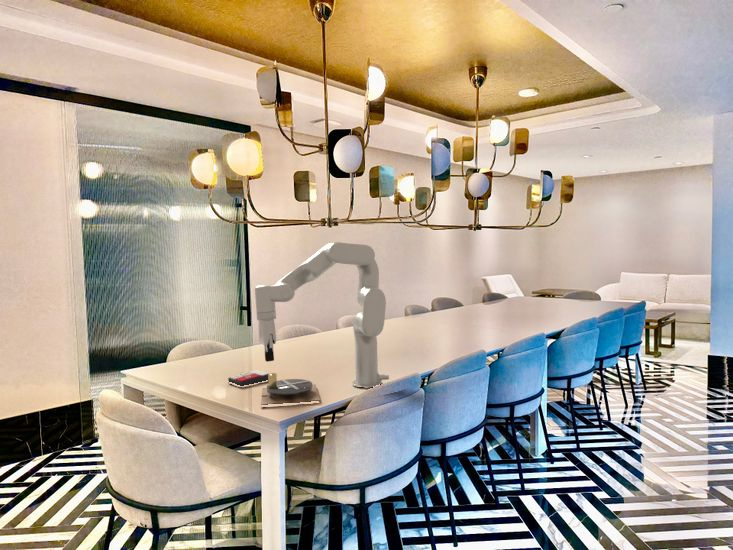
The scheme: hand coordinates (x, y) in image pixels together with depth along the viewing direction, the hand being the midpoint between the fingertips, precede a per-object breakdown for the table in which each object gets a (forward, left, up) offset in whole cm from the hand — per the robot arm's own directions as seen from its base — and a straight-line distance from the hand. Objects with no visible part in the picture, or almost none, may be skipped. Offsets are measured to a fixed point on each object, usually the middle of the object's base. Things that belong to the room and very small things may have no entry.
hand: (269, 360), depth 204 cm
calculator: (+10, -23, -15) cm, 29 cm away
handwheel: (-7, +4, -13) cm, 15 cm away
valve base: (-7, +4, -14) cm, 17 cm away
